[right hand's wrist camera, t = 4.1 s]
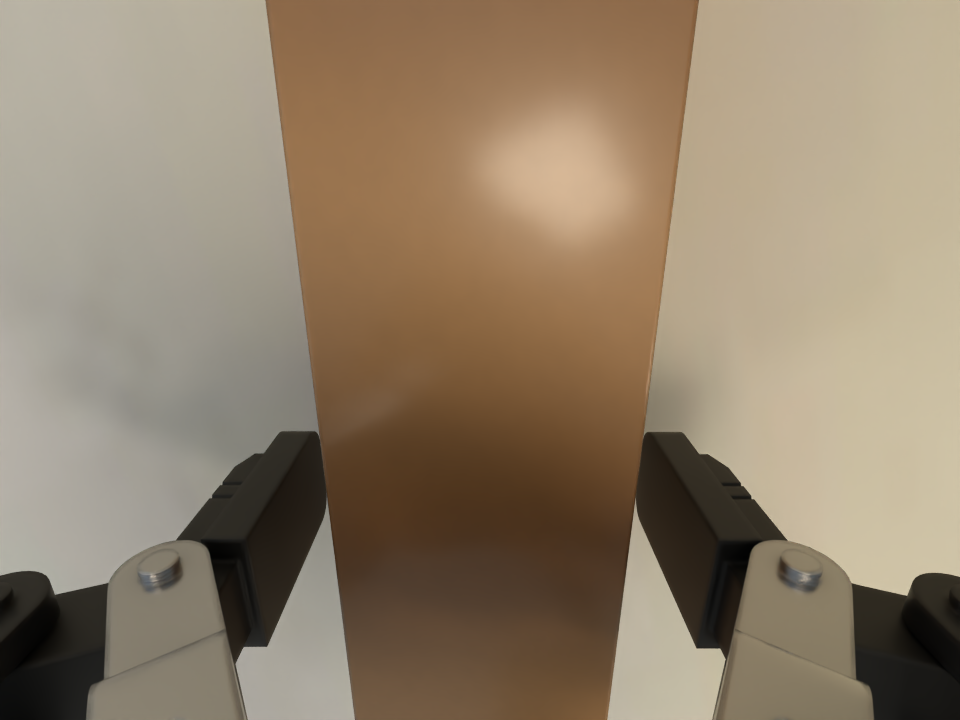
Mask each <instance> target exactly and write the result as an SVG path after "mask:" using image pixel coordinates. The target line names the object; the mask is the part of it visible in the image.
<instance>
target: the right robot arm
mask: <svg viewBox="0 0 960 720" xmlns="http://www.w3.org/2000/svg"><path fill="white" fill-rule="evenodd" d="M326 498H327V495H326V484H325V476H324V468H323V461H322V453H321V445H320V439H319V436H318V434H317V432H315V431H282V432H280V433H279V434H278V435H277V437H276V438H275V439H274V441H273V442H272V443H271V445H270V446H269V447H268V449H267V450H266V451H265V453H264V454H254V455H252V456H251V457H249V458H248V459H246V460H245V461H243V462H242V463H240V464H239V465H237V466H235V467H234V469H233V470H232V471H231V472H230V474H229V475H228V476H227V477H226V479H225V480H224V481H223V485H220V486H219V487H218V489H217V490H216V491H215V492H214V494H213V495H212V498H209V500H208V501H207V502H206V503H205V505H204V506H203V507H202V508H201V510H200V511H199V512H198V513H197V515H196V516H195V517H194V518H193V520H192V521H191V522H190V523H189V525H188V526H187V527H186V528H185V530H184V531H183V532H182V533H181V535H180V536H179V537H178V538H177V540H176V541H170V542H165V543H162V544H158V545H156V546H153V547H150V548H148V549H146V550H144V551H142V552H140V553H138V554H136V555H135V556H133V557H132V558H130V559H129V560H127V561H126V562H125V563H124V564H122V565H121V566H120V567H119V568H118V569H117V570H116V571H115V573H114V574H113V576H112V577H111V579H110V581H109V583H106V584H102V585H98V586H93V587H89V588H84V589H80V590H75V591H71V592H66V593H62V594H57V595H55V594H54V591H53V588H52V586H51V583H50V581H49V579H48V577H47V576H46V575H44V574H42V573H39V572H34V571H21V572H14V573H9V574H5V575H1V576H0V720H248V718H247V714H246V709H245V705H244V700H243V696H242V691H241V687H240V682H239V677H238V673H237V669H236V665H235V663H236V661H237V659H238V657H239V655H240V653H241V651H242V649H243V647H267V646H268V644H269V641H270V639H271V637H272V634H273V632H274V630H275V628H276V625H277V623H278V621H279V618H280V616H281V614H282V612H283V609H284V607H285V605H286V603H287V600H288V598H289V596H290V593H291V591H292V589H293V587H294V584H295V582H296V580H297V578H298V575H299V573H300V571H301V568H302V566H303V564H304V562H305V559H306V557H307V555H308V552H309V550H310V548H311V546H312V543H313V541H314V539H315V537H316V534H317V532H318V530H319V527H320V525H321V523H322V521H323V518H324V514H325V509H326ZM636 505H637V512H638V517H639V520H640V522H641V525H642V527H643V529H644V531H645V533H646V536H647V538H648V540H649V542H650V545H651V547H652V549H653V551H654V554H655V556H656V558H657V560H658V563H659V565H660V567H661V569H662V572H663V574H664V576H665V578H666V581H667V583H668V585H669V587H670V590H671V592H672V594H673V596H674V599H675V601H676V603H677V605H678V608H679V610H680V612H681V614H682V617H683V619H684V621H685V623H686V625H687V628H688V630H689V632H690V634H691V637H692V639H693V641H694V643H695V646H696V648H720V649H721V651H722V653H723V655H724V657H725V659H726V660H725V664H724V669H723V673H722V677H721V682H720V687H719V691H718V696H717V700H716V705H715V709H714V714H713V718H712V720H960V577H958V576H953V575H949V574H942V573H926V574H922V575H919V576H918V577H916V578H915V579H914V581H913V583H912V585H911V588H910V590H909V593H908V595H907V596H905V595H900V594H896V593H891V592H887V591H882V590H878V589H873V588H869V587H864V586H860V585H856V584H852V583H851V581H850V579H849V577H848V576H847V574H846V573H845V571H844V570H843V569H842V568H841V567H840V566H839V565H838V564H836V563H835V562H834V561H833V560H831V559H830V558H828V557H827V556H825V555H824V554H822V553H820V552H818V551H816V550H814V549H812V548H810V547H807V546H804V545H802V544H798V543H795V542H790V541H787V539H786V538H785V537H784V536H783V534H782V533H781V532H780V531H779V530H778V528H777V527H776V526H775V525H774V523H773V522H772V521H771V520H770V518H769V517H768V516H767V515H766V514H765V512H764V511H763V510H762V509H761V507H760V506H759V505H758V504H757V502H756V501H755V500H754V499H751V495H750V494H749V493H748V491H747V490H746V489H745V488H744V486H741V483H740V482H739V480H738V479H737V478H736V477H735V475H734V474H733V473H732V472H731V470H730V469H729V468H728V467H726V466H725V465H723V464H722V463H720V462H719V461H717V460H716V459H714V458H713V457H711V456H710V455H708V454H699V453H698V452H697V451H696V449H695V448H694V447H693V445H692V444H691V443H690V441H689V440H688V439H687V437H686V436H685V435H684V434H683V433H682V432H647V433H646V434H645V436H644V439H643V443H642V451H641V459H640V467H639V474H638V482H637V490H636Z"/></svg>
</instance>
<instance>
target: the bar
mask: <svg viewBox="0 0 960 720" xmlns="http://www.w3.org/2000/svg"><path fill="white" fill-rule="evenodd" d="M698 3H699V0H266V8H267V16H268V24H269V33H270V41H271V49H272V57H273V65H274V73H275V81H276V89H277V97H278V105H279V113H280V121H281V129H282V137H283V145H284V153H285V161H286V169H287V177H288V185H289V193H290V201H291V209H292V217H293V225H294V233H295V241H296V249H297V257H298V266H299V274H300V282H301V290H302V298H303V306H304V314H305V322H306V330H307V338H308V346H309V354H310V362H311V370H312V378H313V386H314V394H315V402H316V410H317V418H318V426H319V434H320V442H321V450H322V458H323V466H324V474H325V482H326V490H327V499H328V507H329V515H330V523H331V531H332V539H333V547H334V555H335V563H336V571H337V579H338V587H339V595H340V603H341V611H342V619H343V627H344V635H345V643H346V651H347V659H348V667H349V675H350V683H351V691H352V699H353V707H354V715H355V720H607V717H608V710H609V702H610V694H611V686H612V678H613V670H614V662H615V655H616V647H617V639H618V631H619V623H620V615H621V607H622V600H623V592H624V584H625V576H626V568H627V560H628V553H629V545H630V537H631V529H632V521H633V513H634V505H635V498H636V490H637V482H638V474H639V466H640V458H641V450H642V443H643V435H644V427H645V419H646V411H647V403H648V395H649V388H650V380H651V372H652V364H653V356H654V348H655V340H656V333H657V325H658V317H659V309H660V301H661V293H662V285H663V278H664V270H665V262H666V254H667V246H668V238H669V230H670V223H671V215H672V207H673V199H674V191H675V183H676V175H677V168H678V160H679V152H680V144H681V136H682V128H683V120H684V113H685V105H686V97H687V89H688V81H689V73H690V65H691V58H692V50H693V42H694V34H695V26H696V18H697V10H698Z"/></svg>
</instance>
